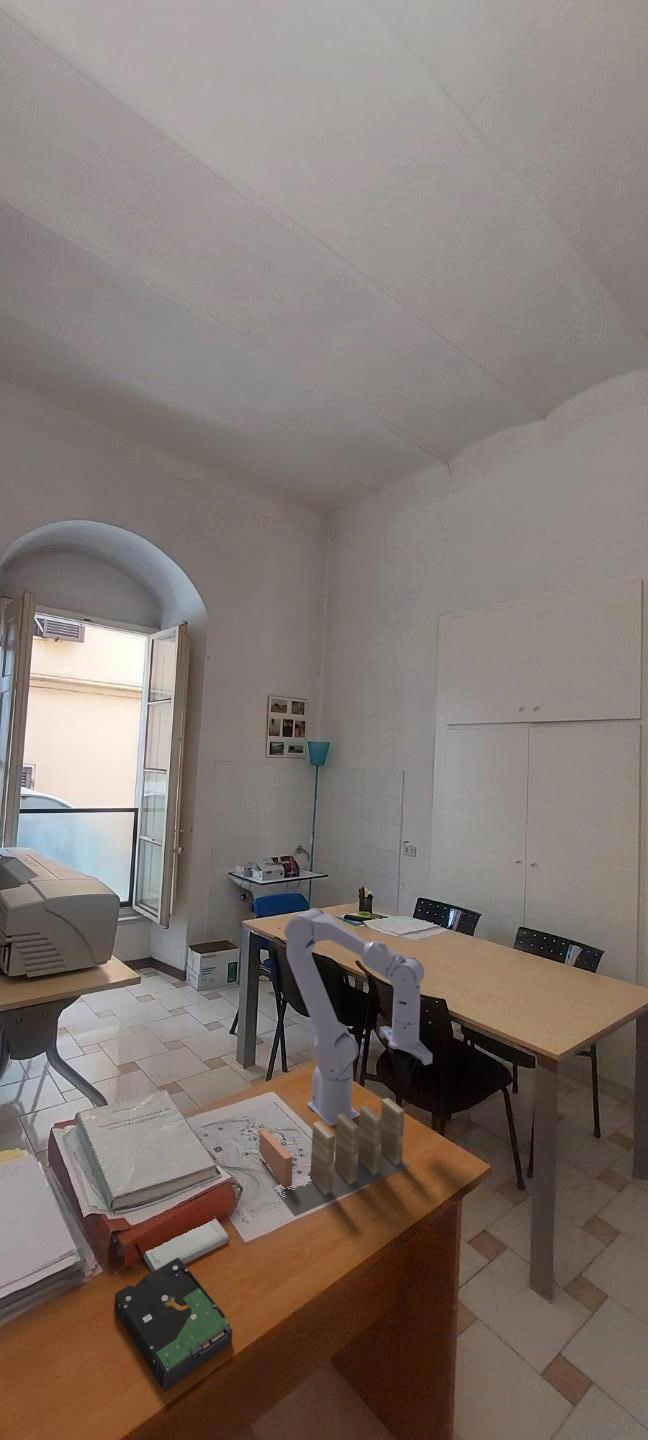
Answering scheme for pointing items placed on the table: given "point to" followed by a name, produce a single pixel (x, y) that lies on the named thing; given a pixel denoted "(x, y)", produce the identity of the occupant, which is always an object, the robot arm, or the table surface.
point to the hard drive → (187, 1245)
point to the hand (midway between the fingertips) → (403, 1084)
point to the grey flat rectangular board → (335, 1187)
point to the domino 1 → (276, 1158)
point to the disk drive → (172, 1322)
